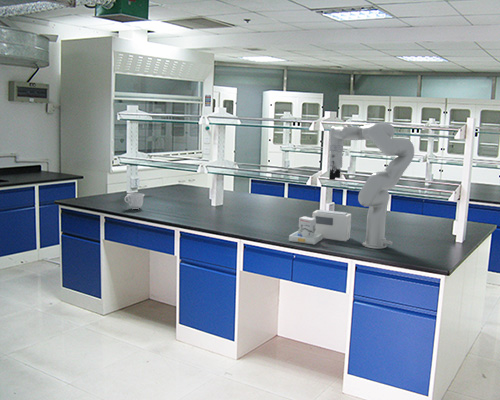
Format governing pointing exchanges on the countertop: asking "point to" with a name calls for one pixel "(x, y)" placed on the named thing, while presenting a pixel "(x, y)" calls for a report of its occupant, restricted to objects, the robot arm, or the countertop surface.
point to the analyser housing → (333, 224)
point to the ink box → (307, 227)
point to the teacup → (135, 200)
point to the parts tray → (296, 238)
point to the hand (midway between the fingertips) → (334, 178)
